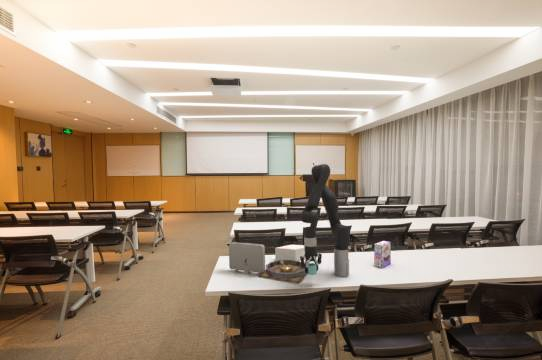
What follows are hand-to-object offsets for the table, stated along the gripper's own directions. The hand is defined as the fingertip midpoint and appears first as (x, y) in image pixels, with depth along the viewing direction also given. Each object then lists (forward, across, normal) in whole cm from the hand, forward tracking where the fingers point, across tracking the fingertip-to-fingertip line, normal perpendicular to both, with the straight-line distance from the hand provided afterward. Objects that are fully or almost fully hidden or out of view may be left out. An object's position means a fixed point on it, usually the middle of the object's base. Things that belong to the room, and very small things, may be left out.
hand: (311, 271), depth 163 cm
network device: (+7, +30, -36) cm, 47 cm away
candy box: (+10, -64, -10) cm, 65 cm away
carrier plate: (+8, +6, -25) cm, 27 cm away
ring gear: (+6, +6, -25) cm, 26 cm away
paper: (+9, -11, -48) cm, 50 cm away
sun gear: (+6, +6, -25) cm, 26 cm away
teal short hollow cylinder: (+1, 0, 0) cm, 1 cm away
